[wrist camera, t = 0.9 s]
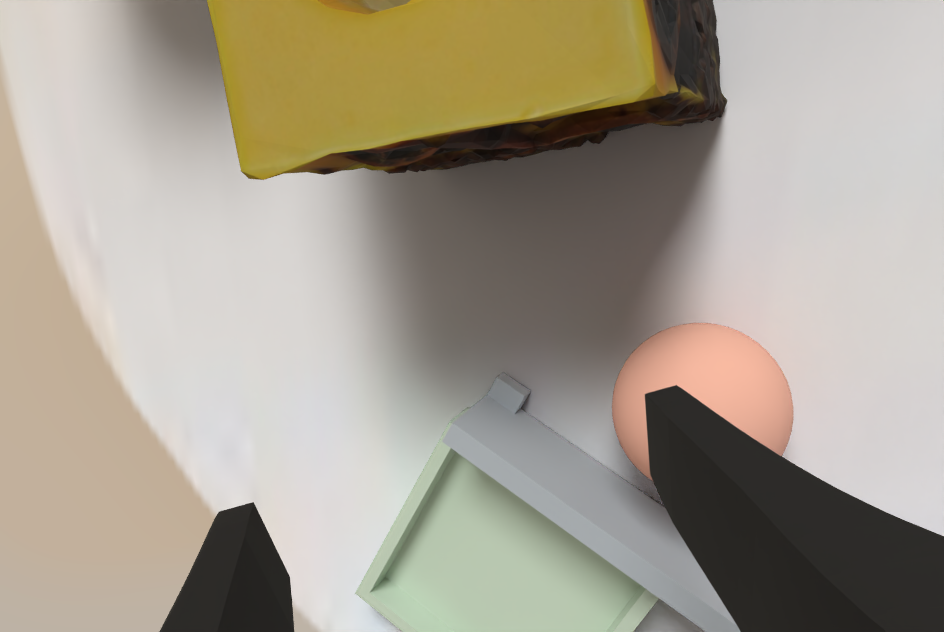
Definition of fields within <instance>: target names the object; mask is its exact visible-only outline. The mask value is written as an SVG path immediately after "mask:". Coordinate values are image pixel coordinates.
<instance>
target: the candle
mask: <svg viewBox="0 0 944 632" xmlns="http://www.w3.org/2000/svg"><path fill="white" fill-rule="evenodd" d="M207 3H208V7H209V12H210V16H211V20H212V25H213V29H214V34H215V38H216V42H217V47H218V53H219V59H220V64H221V70H222V75H223V81H224V86H225V92H226V97H227V102H228V107H229V112H230V117H231V122H232V128H233V133H234V138H235V143H236V148H237V153H238V158H239V163H240V167H241V171H242V172H243V173H244V174H245V175H246V176H247V177H248V178H249V179H261V180H264V179H267V178H271V177H274V176H277V175H280V174H283V173H299V172H310V173H317V174H330V173H334V172H338V171H341V170H354V169H359V168H367V169H370V170H383V171H385V172H387V173H389V174H390V173H404V172H406V171H407V170H411V171H414V172H418V171H419V170H420V171H426V170H436V169H450V168H454V167H459V166H464V165H467V164H471V163H479V162H486V161H491V160H503V161H507V160H508V159H510V158H513V157H525V156H529V155H533V154H537V153H540V152H543V151H548V150H562V149H566V148H570V147H580V146H582V145H583V144H584V142H585V141H586V140H588V141H590V142H591V143H597V144H600V143H601V142H602V141H603V140H604V138H605V137H606V136H607V134H608V132H609V131H620V130H624V129H627V128H631V127H635V126H639V125H643V124H648V123H655V124H660V125H666V126H682V125H684V124H688V123H696V122H701V123H702V122H703V121H705V120H710V121H713V120H714V119H715V118H717V117H721V115H722V113H723V111H724V108H725V106H726V103H727V100H726V98H725V97H724V96H723V94H722V93H721V89H720V76H719V66H720V56H719V46H718V38H717V36H716V34H715V33H716V21H717V20H716V15H715V10H714V5H713V0H207Z"/></svg>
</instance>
